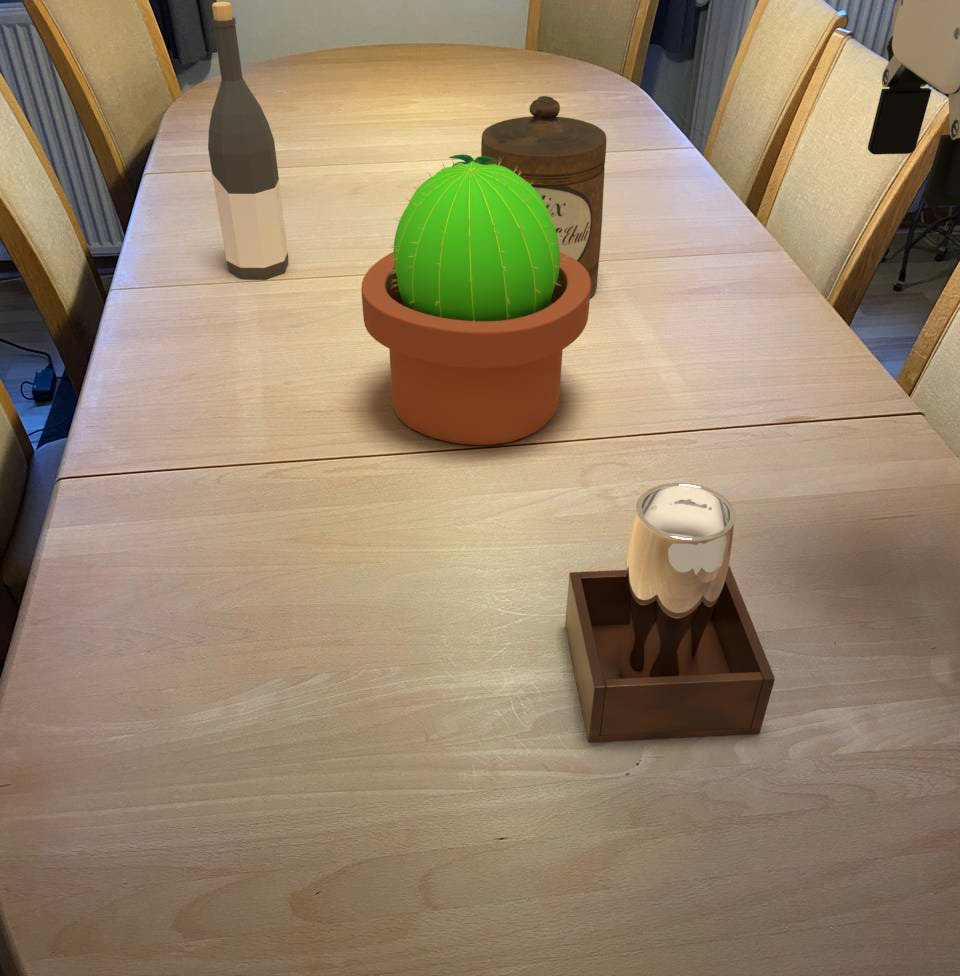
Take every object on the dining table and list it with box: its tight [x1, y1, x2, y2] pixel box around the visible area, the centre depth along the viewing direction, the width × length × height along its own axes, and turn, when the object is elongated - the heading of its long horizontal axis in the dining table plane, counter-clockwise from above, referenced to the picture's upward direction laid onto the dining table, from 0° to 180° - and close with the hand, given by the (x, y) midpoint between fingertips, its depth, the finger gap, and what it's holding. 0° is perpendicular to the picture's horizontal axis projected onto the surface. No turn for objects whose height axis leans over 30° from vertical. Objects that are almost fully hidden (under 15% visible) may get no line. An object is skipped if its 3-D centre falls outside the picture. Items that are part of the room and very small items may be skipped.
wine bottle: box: [207, 1, 289, 280], centre depth 125 cm, size 8×8×30 cm
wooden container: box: [480, 95, 607, 298], centre depth 123 cm, size 15×15×22 cm
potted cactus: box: [360, 154, 591, 446], centre depth 101 cm, size 22×22×25 cm
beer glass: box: [619, 482, 737, 679], centre depth 73 cm, size 7×7×15 cm
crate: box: [564, 565, 776, 743], centre depth 77 cm, size 13×13×6 cm
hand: (917, 177), depth 67 cm, fingers open, 9 cm apart
